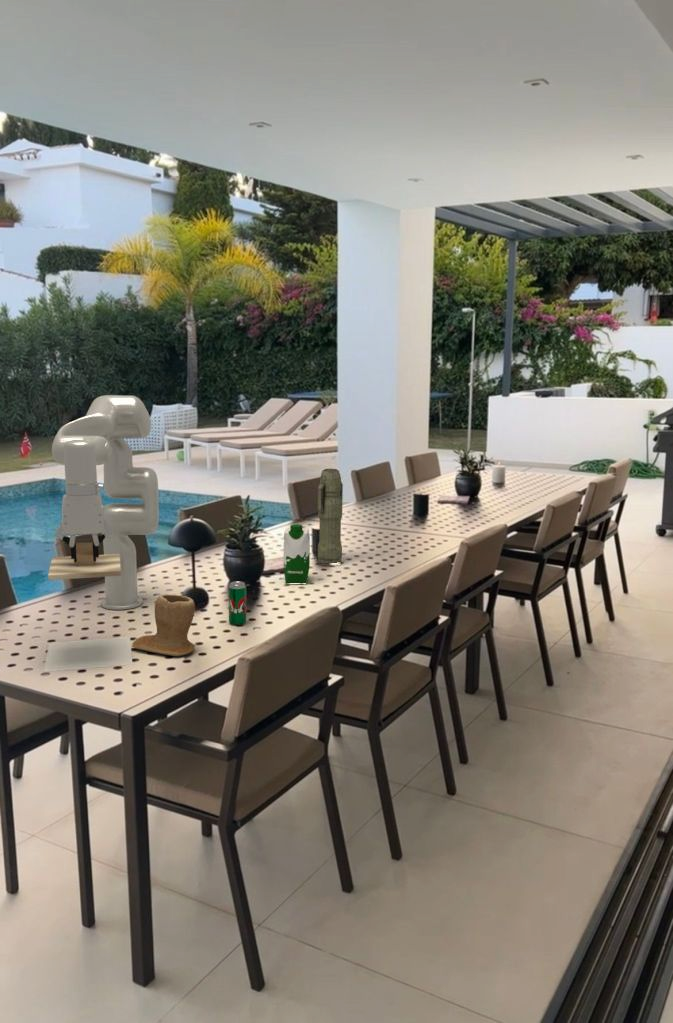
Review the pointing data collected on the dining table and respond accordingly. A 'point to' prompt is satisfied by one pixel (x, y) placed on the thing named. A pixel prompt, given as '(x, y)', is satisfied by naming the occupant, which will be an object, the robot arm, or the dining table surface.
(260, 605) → the dining table surface
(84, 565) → the birch lid
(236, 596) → the soda can
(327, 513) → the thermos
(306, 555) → the milk carton
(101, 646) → the grey mat
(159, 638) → the brown boot-shaped piece
